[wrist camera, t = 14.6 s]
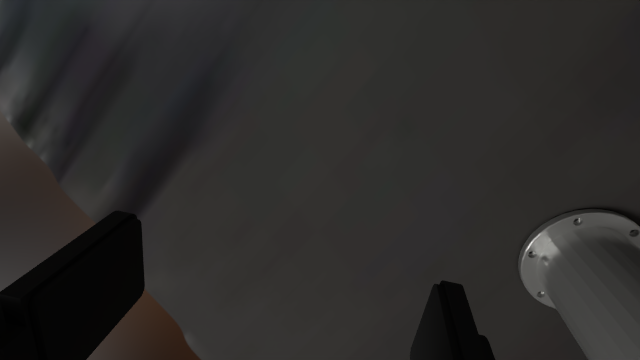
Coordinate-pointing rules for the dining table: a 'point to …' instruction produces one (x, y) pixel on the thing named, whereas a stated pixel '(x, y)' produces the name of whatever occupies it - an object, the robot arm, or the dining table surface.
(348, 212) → the dining table surface
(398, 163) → the dining table surface
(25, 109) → the dining table surface
